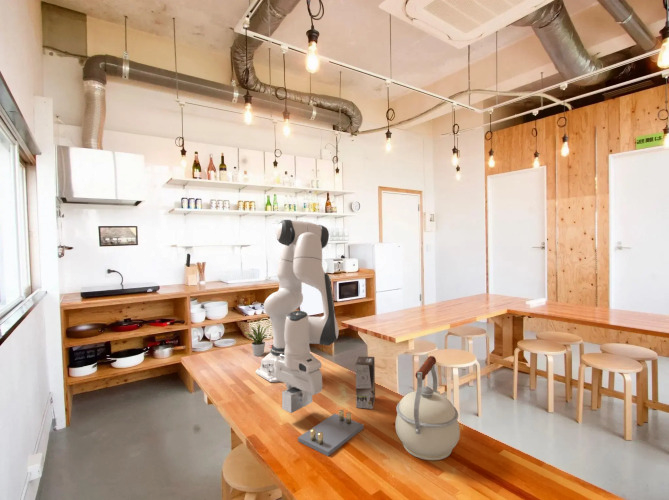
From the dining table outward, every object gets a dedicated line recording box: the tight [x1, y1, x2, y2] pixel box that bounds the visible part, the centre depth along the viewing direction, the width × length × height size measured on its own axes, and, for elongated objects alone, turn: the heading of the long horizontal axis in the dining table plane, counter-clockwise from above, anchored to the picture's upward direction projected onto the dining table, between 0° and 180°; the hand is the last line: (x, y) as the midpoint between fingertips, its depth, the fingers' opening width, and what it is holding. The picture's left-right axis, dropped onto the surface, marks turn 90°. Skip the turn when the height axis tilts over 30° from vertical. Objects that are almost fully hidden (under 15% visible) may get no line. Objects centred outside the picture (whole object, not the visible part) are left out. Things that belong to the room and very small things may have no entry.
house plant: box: [244, 323, 272, 357], centre depth 187 cm, size 14×14×16 cm
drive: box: [281, 386, 313, 414], centre depth 121 cm, size 4×10×6 cm, turn 139°
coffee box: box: [355, 356, 376, 410], centre depth 130 cm, size 9×6×16 cm
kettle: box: [394, 355, 461, 461], centre depth 104 cm, size 25×18×25 cm
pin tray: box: [297, 409, 365, 457], centre depth 110 cm, size 12×18×4 cm, turn 141°
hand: (297, 398), depth 121 cm, fingers closed on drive, 4 cm apart
